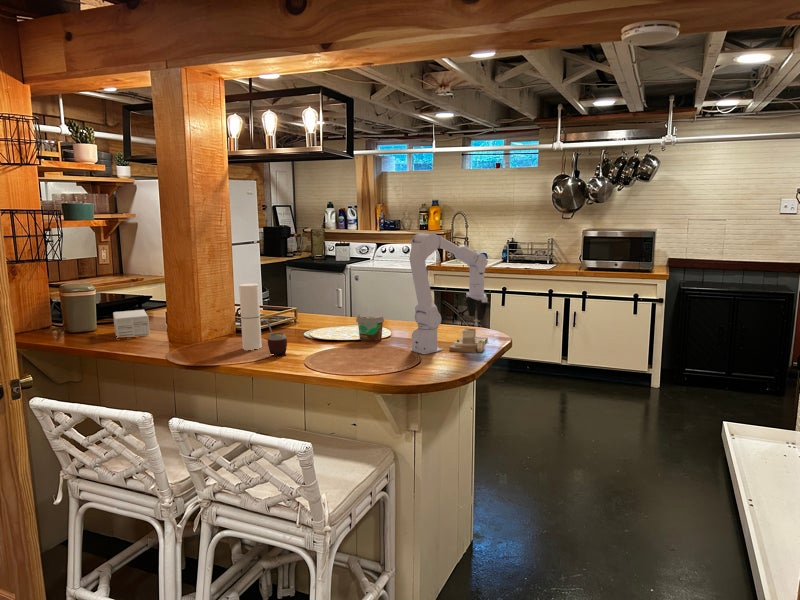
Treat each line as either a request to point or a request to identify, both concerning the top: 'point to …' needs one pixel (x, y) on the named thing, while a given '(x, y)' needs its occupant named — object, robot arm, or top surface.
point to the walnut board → (467, 349)
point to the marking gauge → (471, 340)
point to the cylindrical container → (250, 316)
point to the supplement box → (131, 323)
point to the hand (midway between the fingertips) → (476, 317)
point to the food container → (370, 328)
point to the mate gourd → (277, 343)
